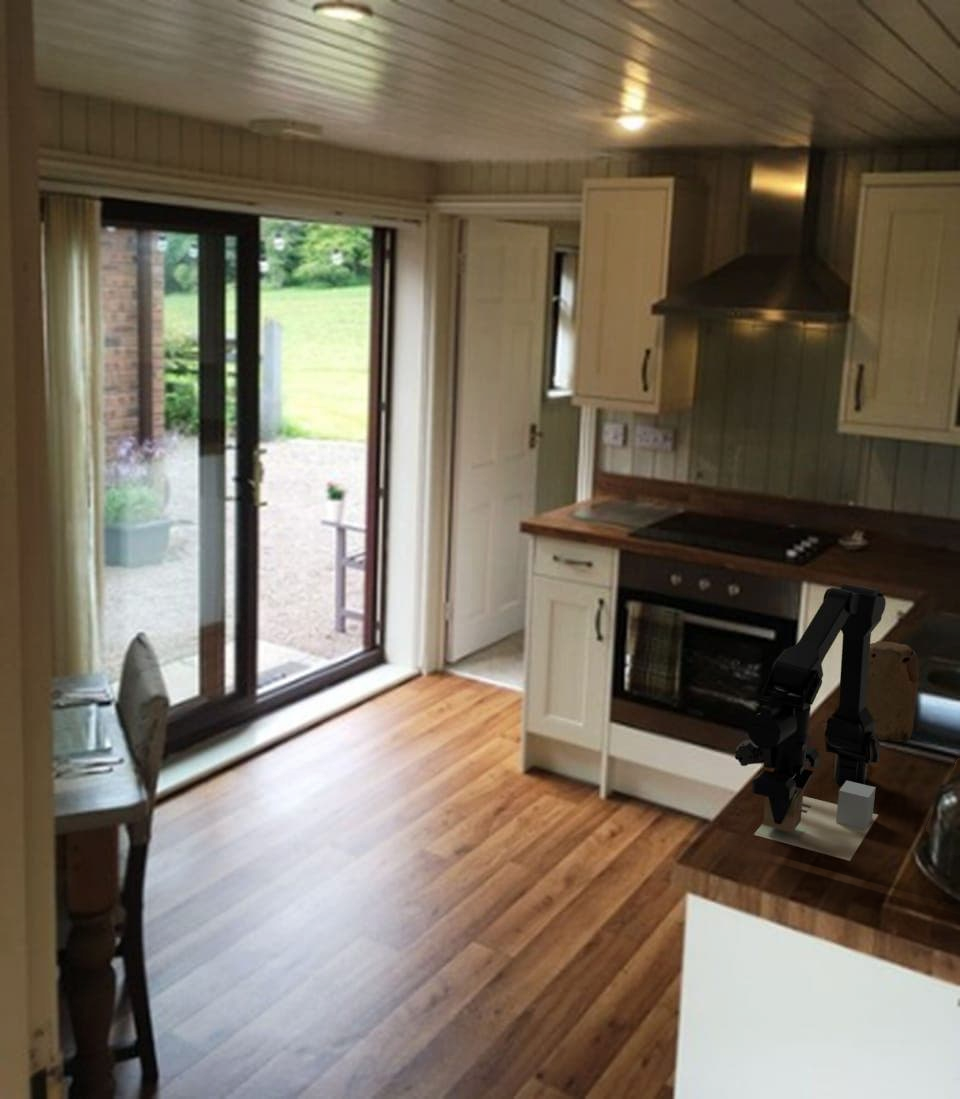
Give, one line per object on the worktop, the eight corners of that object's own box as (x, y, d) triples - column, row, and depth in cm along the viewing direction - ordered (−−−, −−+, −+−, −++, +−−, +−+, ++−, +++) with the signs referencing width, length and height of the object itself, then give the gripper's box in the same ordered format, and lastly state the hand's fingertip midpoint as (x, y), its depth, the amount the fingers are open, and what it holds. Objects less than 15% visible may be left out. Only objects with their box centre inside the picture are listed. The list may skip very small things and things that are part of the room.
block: (853, 734, 240) (863, 644, 236) (864, 724, 246) (874, 636, 241) (905, 747, 234) (916, 654, 229) (916, 736, 240) (927, 646, 235)
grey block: (843, 811, 201) (846, 780, 200) (872, 819, 199) (875, 787, 197) (835, 822, 197) (839, 790, 196) (865, 830, 195) (868, 797, 193)
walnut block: (771, 813, 197) (774, 781, 195) (800, 821, 194) (803, 788, 193) (762, 824, 193) (765, 792, 191) (792, 832, 190) (795, 799, 189)
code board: (788, 797, 209) (788, 792, 209) (877, 820, 201) (878, 814, 201) (753, 839, 192) (753, 834, 192) (849, 866, 184) (849, 860, 184)
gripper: (761, 704, 201) (754, 786, 205) (724, 738, 186) (718, 826, 189) (824, 718, 196) (815, 802, 199) (792, 754, 180) (783, 844, 184)
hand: (782, 817), depth 193 cm, fingers open, 5 cm apart
